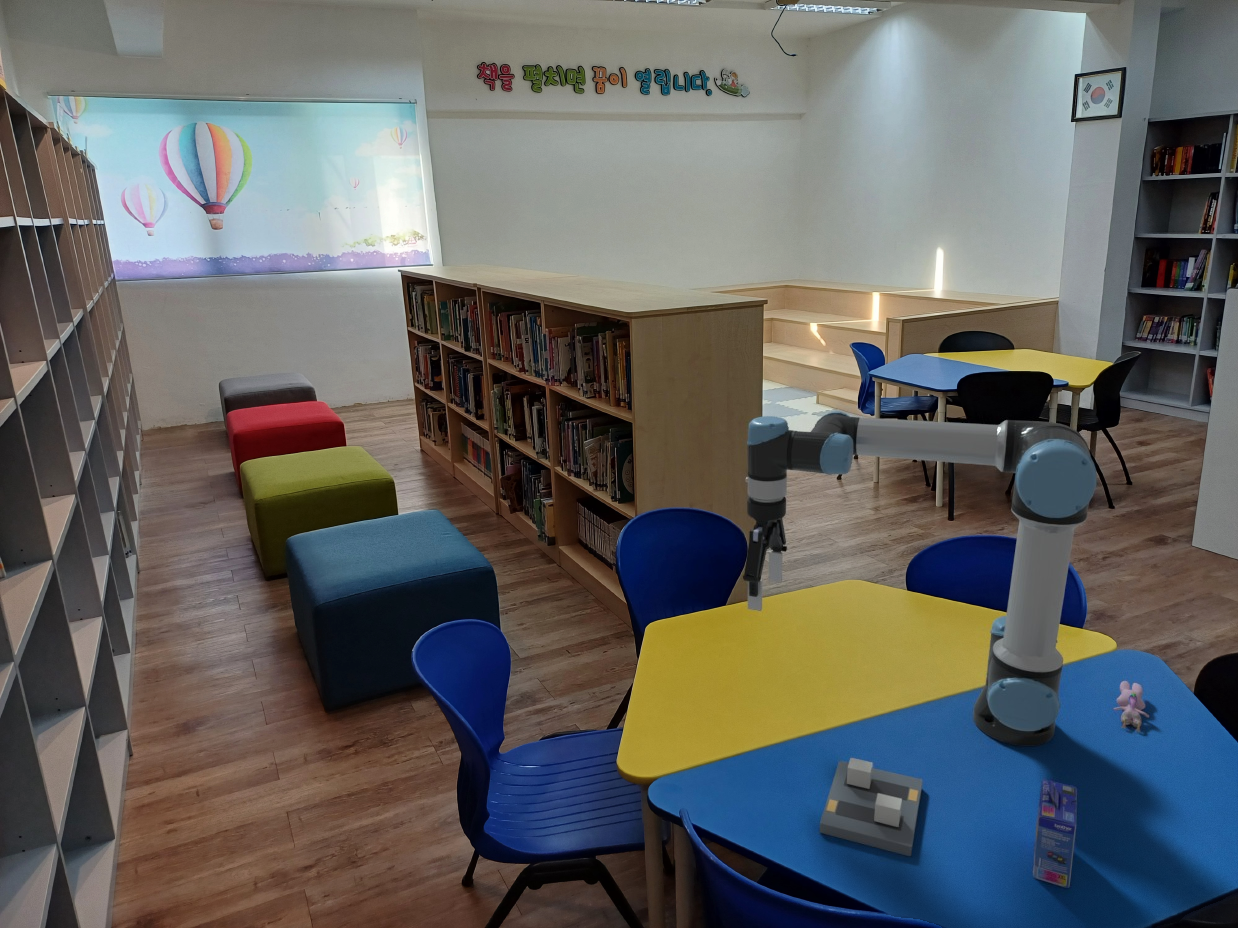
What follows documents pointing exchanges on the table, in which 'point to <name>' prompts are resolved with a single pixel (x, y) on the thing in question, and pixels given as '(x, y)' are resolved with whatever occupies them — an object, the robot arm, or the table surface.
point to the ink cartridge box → (1055, 833)
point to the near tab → (888, 810)
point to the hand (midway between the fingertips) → (765, 594)
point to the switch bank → (872, 810)
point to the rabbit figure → (1131, 704)
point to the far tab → (859, 773)
